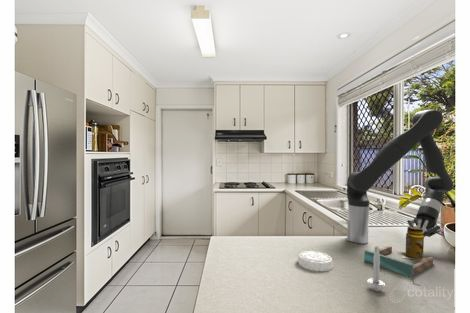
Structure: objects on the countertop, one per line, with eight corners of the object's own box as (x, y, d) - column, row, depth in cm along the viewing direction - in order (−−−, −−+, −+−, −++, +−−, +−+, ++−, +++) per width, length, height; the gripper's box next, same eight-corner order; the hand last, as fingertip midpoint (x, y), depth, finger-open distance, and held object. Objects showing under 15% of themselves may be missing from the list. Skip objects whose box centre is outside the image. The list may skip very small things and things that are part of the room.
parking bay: (388, 251, 114) (389, 242, 114) (433, 264, 101) (433, 253, 101) (364, 261, 101) (364, 250, 101) (411, 277, 88) (411, 265, 89)
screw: (388, 293, 77) (371, 293, 77) (379, 285, 82) (363, 285, 82) (389, 249, 77) (373, 248, 77) (380, 243, 82) (364, 243, 82)
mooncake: (313, 274, 89) (313, 263, 89) (291, 261, 100) (291, 251, 100) (339, 269, 94) (339, 258, 94) (316, 257, 105) (316, 248, 105)
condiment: (427, 261, 104) (428, 230, 104) (402, 258, 106) (403, 228, 106) (420, 255, 110) (421, 226, 111) (397, 252, 113) (398, 224, 113)
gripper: (410, 202, 123) (398, 232, 116) (445, 207, 112) (434, 241, 105) (414, 213, 126) (402, 242, 119) (449, 218, 115) (438, 251, 108)
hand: (417, 241), depth 112 cm, fingers closed
